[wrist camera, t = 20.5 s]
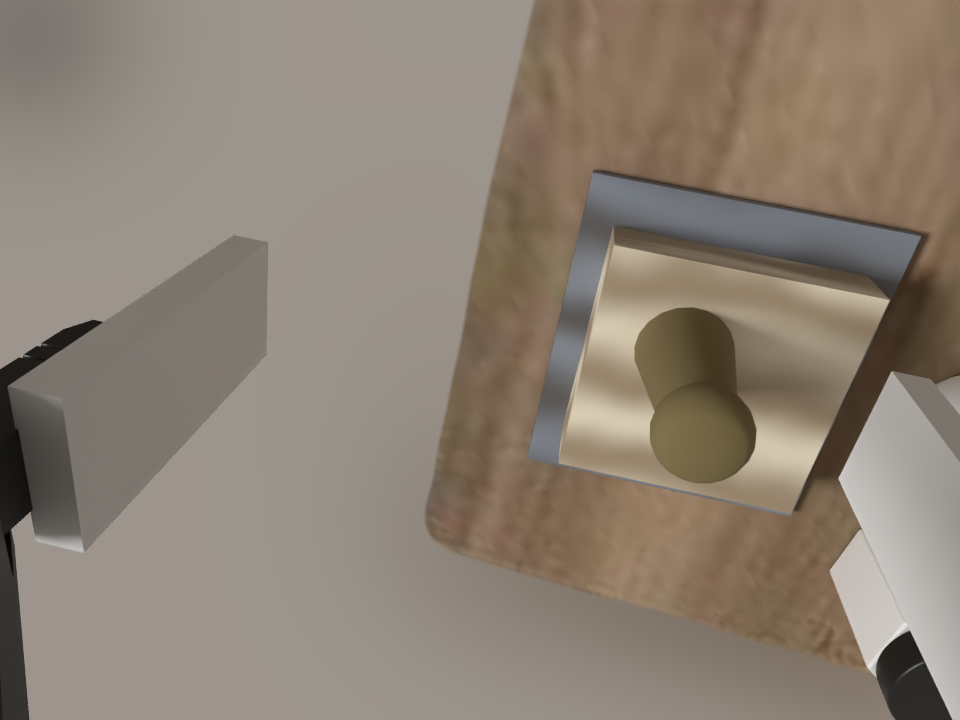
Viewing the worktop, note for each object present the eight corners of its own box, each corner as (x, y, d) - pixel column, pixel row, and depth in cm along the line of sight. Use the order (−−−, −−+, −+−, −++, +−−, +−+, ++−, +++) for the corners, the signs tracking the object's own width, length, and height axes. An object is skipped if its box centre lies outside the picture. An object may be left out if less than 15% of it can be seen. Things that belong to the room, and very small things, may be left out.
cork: (626, 316, 44) (633, 409, 35) (729, 298, 43) (766, 390, 33) (642, 400, 47) (652, 508, 37) (739, 386, 45) (777, 495, 36)
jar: (830, 608, 58) (881, 745, 48) (827, 528, 55) (881, 657, 44) (954, 601, 56) (1036, 743, 45) (958, 518, 53) (1048, 650, 42)
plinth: (593, 170, 45) (592, 188, 41) (916, 232, 44) (949, 258, 40) (528, 452, 56) (522, 490, 51) (787, 509, 54) (803, 553, 50)
